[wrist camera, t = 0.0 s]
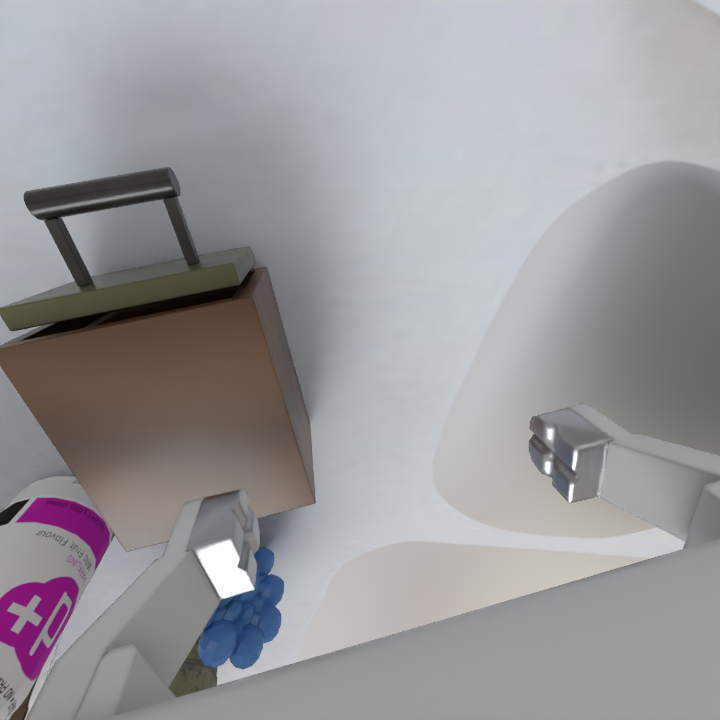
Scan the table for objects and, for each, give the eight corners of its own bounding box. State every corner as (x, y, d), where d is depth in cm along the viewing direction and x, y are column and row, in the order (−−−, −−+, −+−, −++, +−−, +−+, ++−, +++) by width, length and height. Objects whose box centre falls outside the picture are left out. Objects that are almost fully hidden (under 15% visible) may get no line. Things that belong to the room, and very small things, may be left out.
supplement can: (109, 464, 31) (-34, 667, 17) (136, 531, 34) (33, 745, 21) (4, 476, 30) (-237, 704, 16) (42, 545, 33) (-131, 780, 20)
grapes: (170, 525, 35) (113, 672, 24) (224, 489, 34) (190, 623, 23) (250, 580, 40) (233, 722, 29) (299, 549, 39) (300, 682, 28)
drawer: (43, 199, 22) (-75, 198, 15) (228, 167, 23) (198, 152, 16) (163, 436, 30) (122, 508, 23) (296, 405, 31) (297, 465, 24)
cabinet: (92, 300, 25) (-12, 350, 17) (266, 266, 26) (252, 296, 18) (172, 457, 32) (125, 552, 23) (310, 424, 33) (315, 503, 24)
